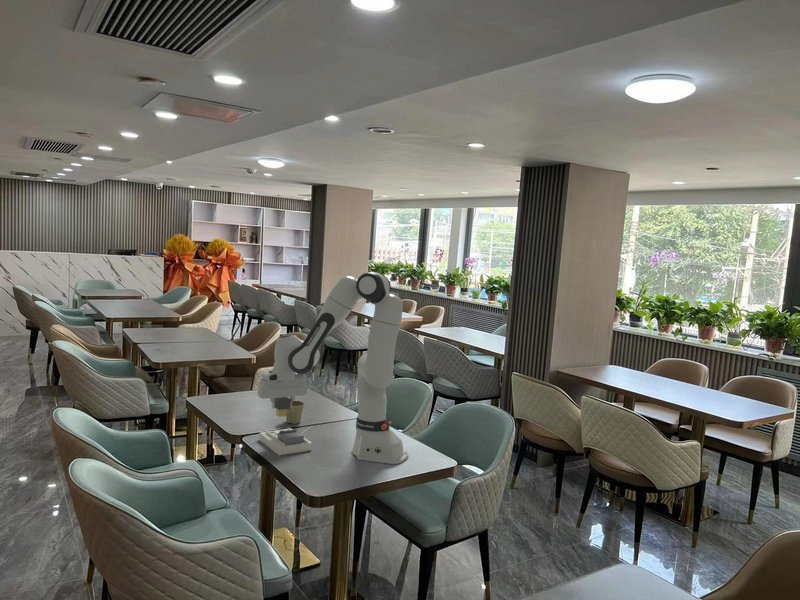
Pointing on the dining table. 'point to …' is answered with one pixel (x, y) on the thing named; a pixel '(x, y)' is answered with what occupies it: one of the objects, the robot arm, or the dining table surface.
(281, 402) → the plug
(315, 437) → the dining table surface
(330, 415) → the dining table surface
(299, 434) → the cover
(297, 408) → the flower pot
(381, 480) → the dining table surface
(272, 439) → the socket plate
